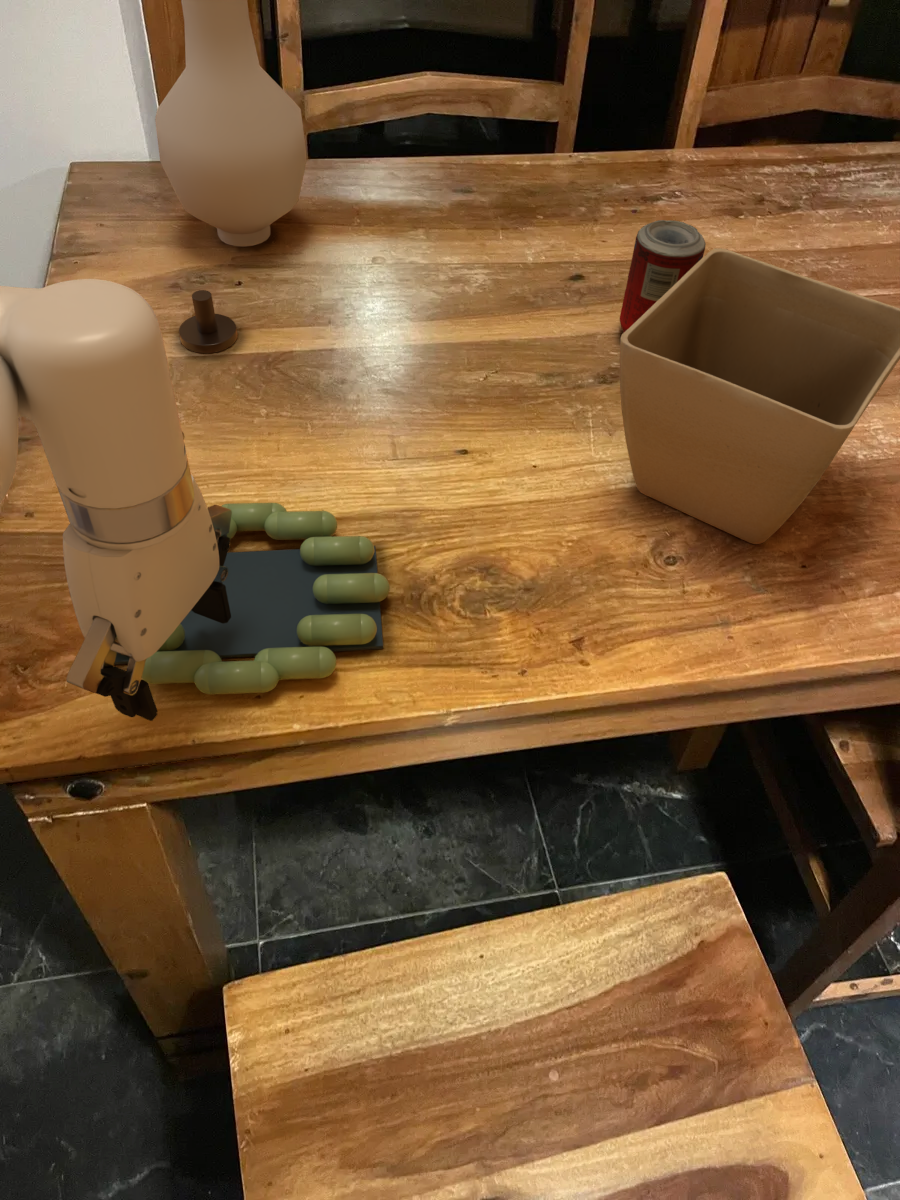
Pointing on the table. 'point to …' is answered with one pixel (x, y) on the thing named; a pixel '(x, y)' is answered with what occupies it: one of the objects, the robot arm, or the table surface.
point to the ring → (310, 630)
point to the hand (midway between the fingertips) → (176, 661)
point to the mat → (271, 606)
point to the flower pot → (748, 388)
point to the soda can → (658, 265)
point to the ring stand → (207, 327)
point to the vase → (230, 128)
